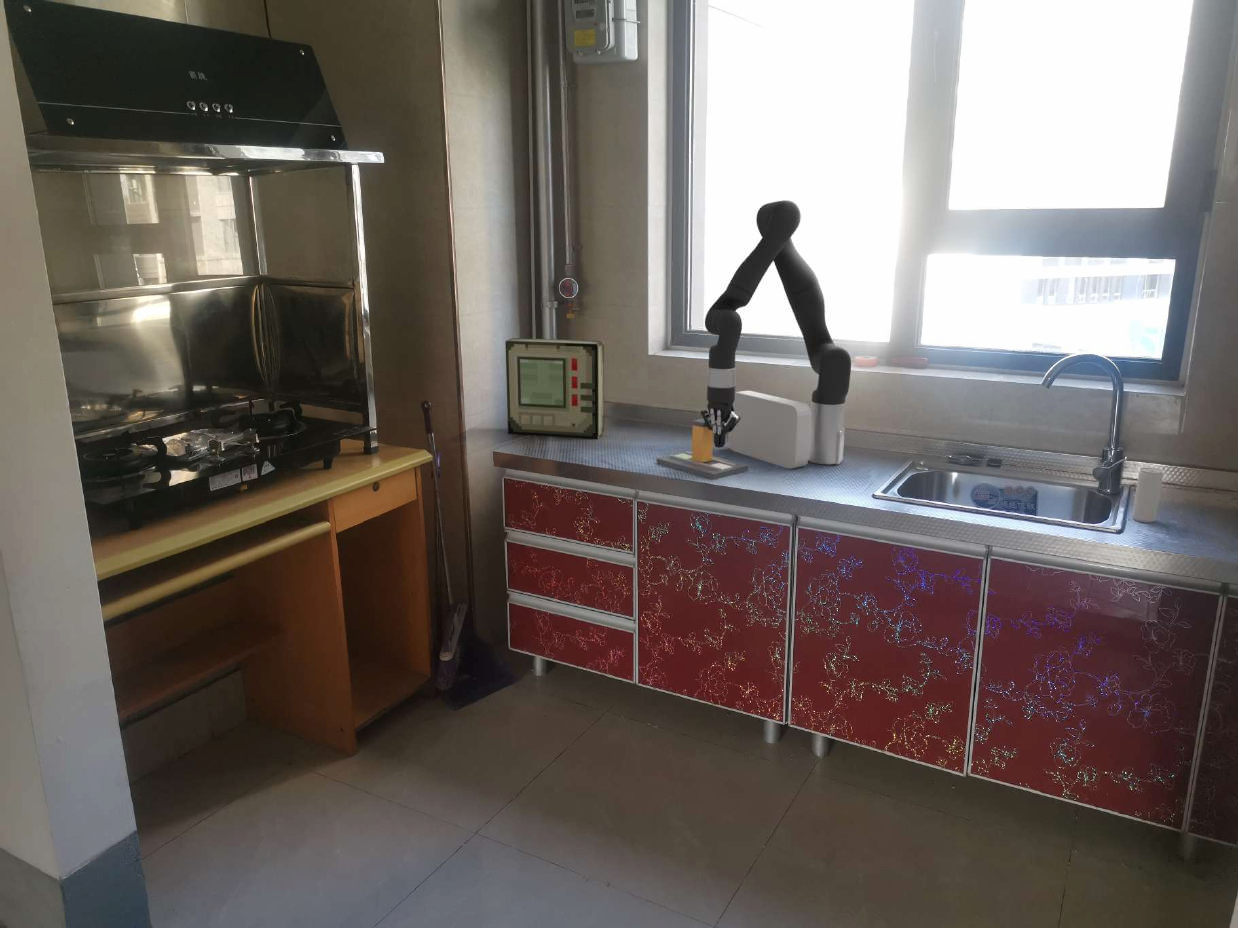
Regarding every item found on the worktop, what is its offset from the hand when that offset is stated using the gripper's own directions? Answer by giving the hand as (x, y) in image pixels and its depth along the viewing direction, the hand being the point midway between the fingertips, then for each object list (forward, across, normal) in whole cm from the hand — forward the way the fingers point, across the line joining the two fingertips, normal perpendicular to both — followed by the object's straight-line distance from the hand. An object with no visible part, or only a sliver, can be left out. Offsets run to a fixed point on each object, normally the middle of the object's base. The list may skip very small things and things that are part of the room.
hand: (719, 446), depth 249 cm
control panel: (+7, +65, +6) cm, 66 cm away
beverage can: (+7, -93, -43) cm, 103 cm away
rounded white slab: (+7, +1, -21) cm, 23 cm away
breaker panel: (+7, +6, 0) cm, 9 cm away
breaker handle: (+5, +6, 0) cm, 8 cm away
